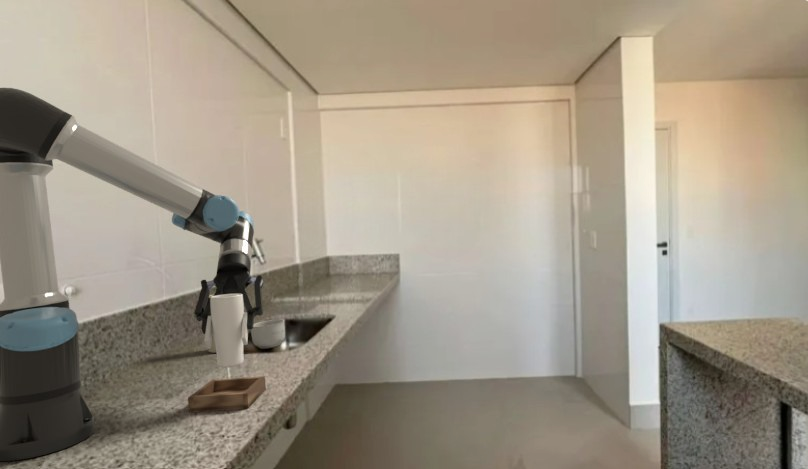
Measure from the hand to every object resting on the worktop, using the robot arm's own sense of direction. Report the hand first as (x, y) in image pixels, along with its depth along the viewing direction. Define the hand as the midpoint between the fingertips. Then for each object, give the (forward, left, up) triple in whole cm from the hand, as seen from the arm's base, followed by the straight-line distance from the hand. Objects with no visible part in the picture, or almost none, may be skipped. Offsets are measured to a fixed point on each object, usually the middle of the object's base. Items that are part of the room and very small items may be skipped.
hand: (226, 343), depth 98 cm
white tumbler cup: (-2, +3, -6) cm, 7 cm away
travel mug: (-47, +36, -13) cm, 61 cm away
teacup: (-35, +46, -13) cm, 60 cm away
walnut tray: (-2, +2, -13) cm, 13 cm away
